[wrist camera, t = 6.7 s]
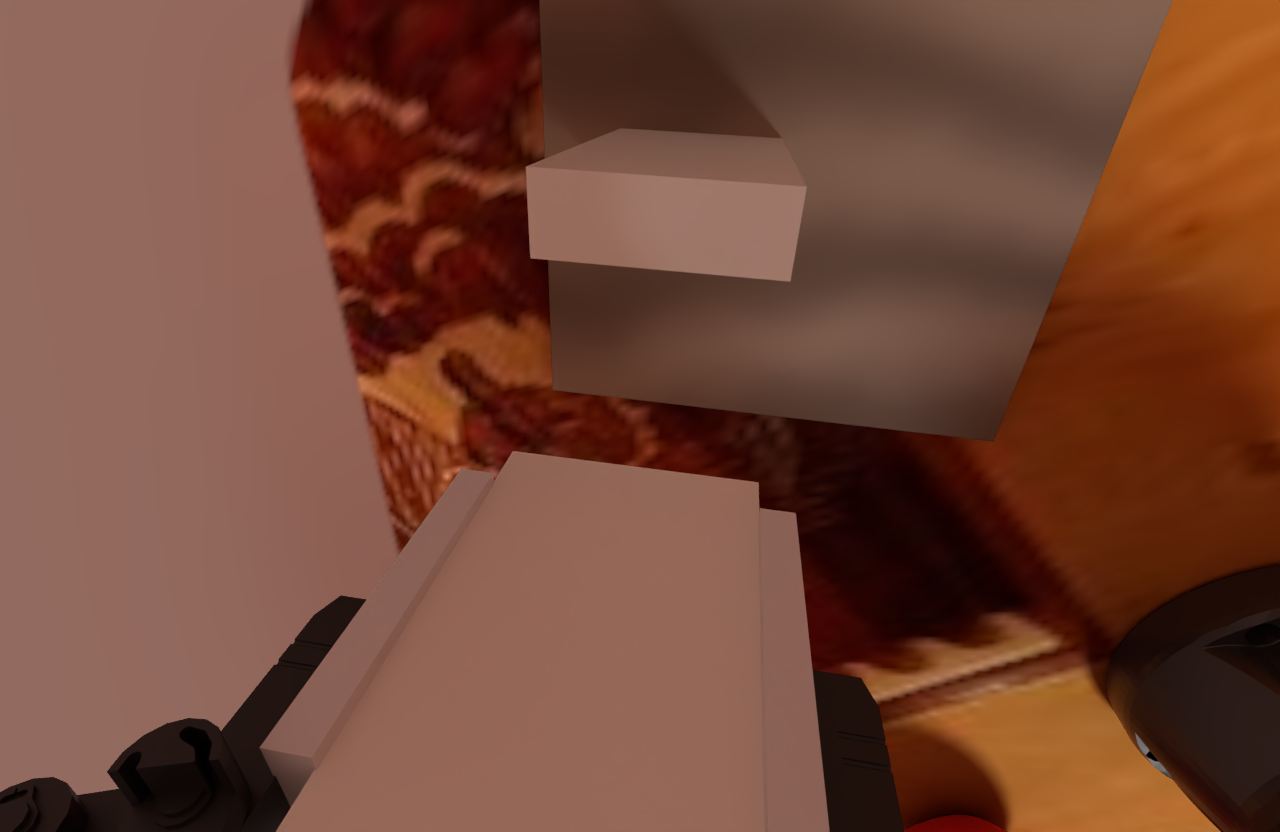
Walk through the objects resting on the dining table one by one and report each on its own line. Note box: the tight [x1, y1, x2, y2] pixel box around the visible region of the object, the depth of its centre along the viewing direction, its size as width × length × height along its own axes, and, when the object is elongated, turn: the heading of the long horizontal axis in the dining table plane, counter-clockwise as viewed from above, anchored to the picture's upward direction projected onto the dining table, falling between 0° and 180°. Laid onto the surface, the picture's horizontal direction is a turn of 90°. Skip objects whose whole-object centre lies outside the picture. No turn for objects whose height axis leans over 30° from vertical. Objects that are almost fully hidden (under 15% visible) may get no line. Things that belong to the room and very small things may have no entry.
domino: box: [526, 128, 807, 282], centre depth 18 cm, size 2×6×11 cm, turn 87°
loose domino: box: [276, 451, 765, 832], centre depth 10 cm, size 2×6×11 cm, turn 88°
